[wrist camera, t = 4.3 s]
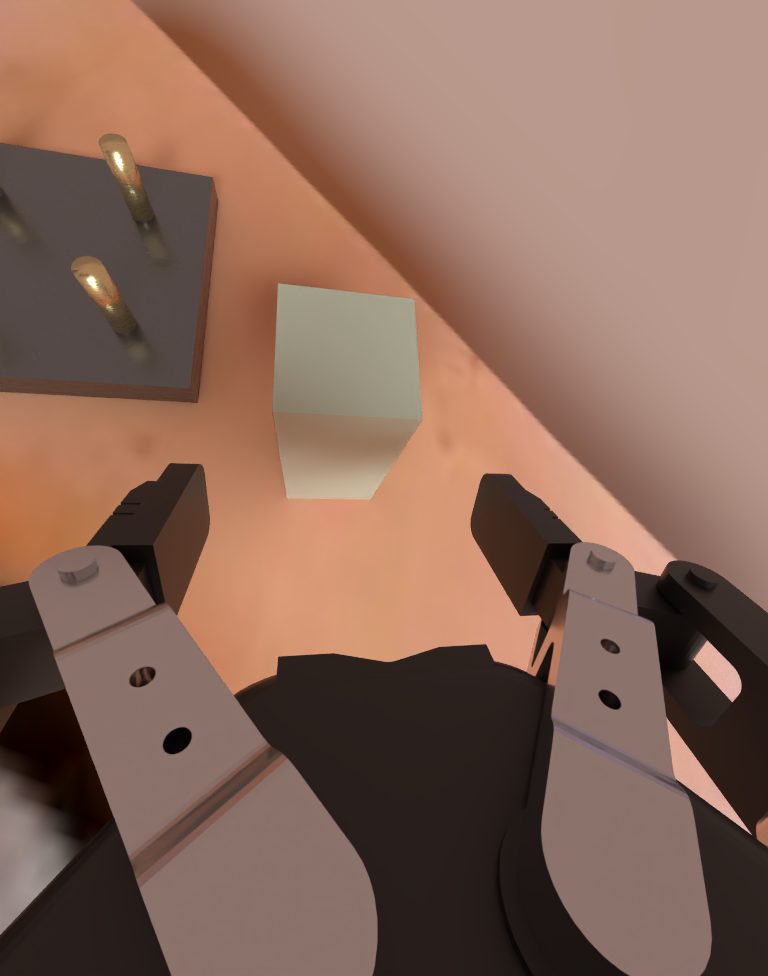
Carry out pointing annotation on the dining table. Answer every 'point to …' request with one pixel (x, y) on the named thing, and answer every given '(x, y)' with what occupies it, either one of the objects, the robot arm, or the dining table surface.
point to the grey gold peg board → (102, 274)
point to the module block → (343, 389)
